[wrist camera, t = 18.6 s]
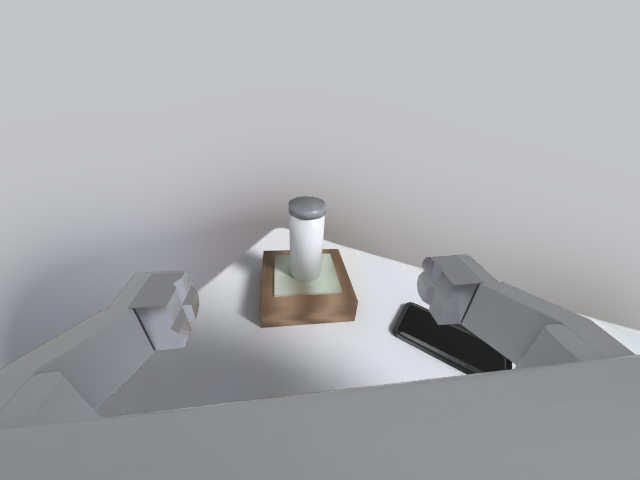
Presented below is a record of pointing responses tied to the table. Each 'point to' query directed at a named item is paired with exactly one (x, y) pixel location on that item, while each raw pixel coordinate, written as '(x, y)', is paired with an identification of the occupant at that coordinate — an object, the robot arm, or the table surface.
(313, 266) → the canister
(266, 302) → the walnut base
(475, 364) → the phone
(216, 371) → the table surface
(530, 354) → the robot arm
